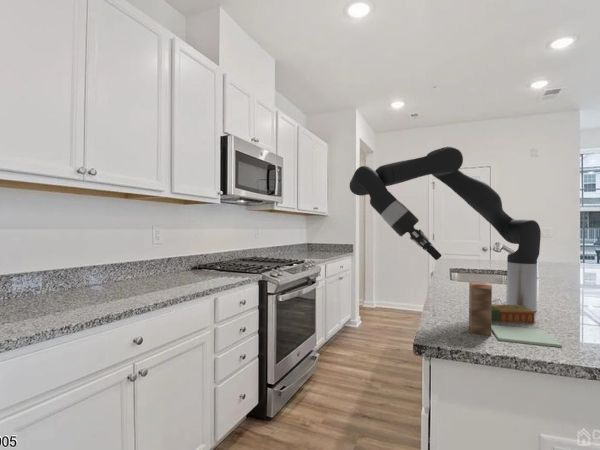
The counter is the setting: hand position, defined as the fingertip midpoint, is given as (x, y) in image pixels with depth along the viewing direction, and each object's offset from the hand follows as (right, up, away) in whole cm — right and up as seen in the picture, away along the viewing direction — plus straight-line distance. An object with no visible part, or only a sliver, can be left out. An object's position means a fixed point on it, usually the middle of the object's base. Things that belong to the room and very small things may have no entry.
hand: (438, 256), depth 100 cm
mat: (+20, -21, -7) cm, 30 cm away
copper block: (+11, -21, -4) cm, 24 cm away
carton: (+26, -22, +11) cm, 36 cm away
